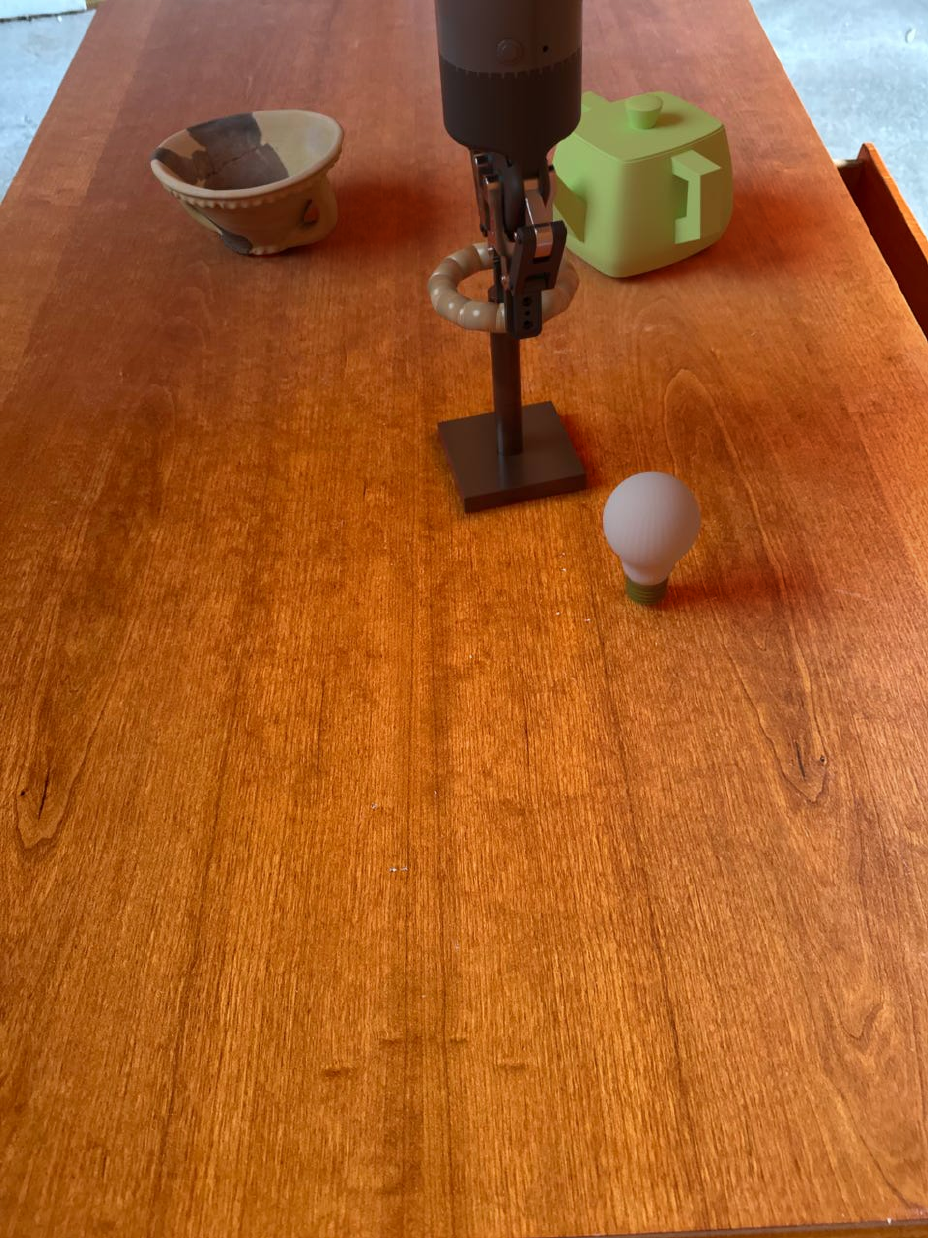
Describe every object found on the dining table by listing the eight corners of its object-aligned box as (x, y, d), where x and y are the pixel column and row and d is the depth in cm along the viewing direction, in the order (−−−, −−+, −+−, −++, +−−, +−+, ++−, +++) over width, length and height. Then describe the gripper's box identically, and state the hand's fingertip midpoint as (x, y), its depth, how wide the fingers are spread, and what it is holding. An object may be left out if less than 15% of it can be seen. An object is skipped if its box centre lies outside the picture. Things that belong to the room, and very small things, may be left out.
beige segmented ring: (556, 248, 78) (555, 224, 77) (595, 321, 72) (595, 296, 70) (419, 273, 77) (416, 248, 76) (445, 349, 71) (443, 323, 70)
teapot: (599, 335, 95) (603, 186, 86) (475, 236, 107) (467, 96, 98) (770, 264, 101) (792, 117, 91) (634, 178, 113) (641, 40, 103)
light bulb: (667, 644, 72) (679, 529, 65) (584, 612, 74) (587, 497, 67) (705, 585, 75) (721, 469, 68) (624, 556, 78) (631, 440, 70)
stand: (551, 415, 88) (550, 244, 78) (586, 489, 82) (589, 315, 72) (438, 437, 88) (421, 267, 77) (465, 513, 82) (450, 341, 71)
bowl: (392, 210, 112) (380, 113, 105) (292, 306, 101) (272, 204, 94) (244, 180, 118) (224, 86, 111) (135, 267, 107) (106, 169, 100)
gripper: (621, 77, 55) (609, 376, 68) (543, -21, 64) (546, 259, 77) (469, 102, 54) (486, 399, 67) (412, -1, 63) (437, 278, 76)
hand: (518, 323), depth 72 cm, fingers closed on beige segmented ring, 2 cm apart
